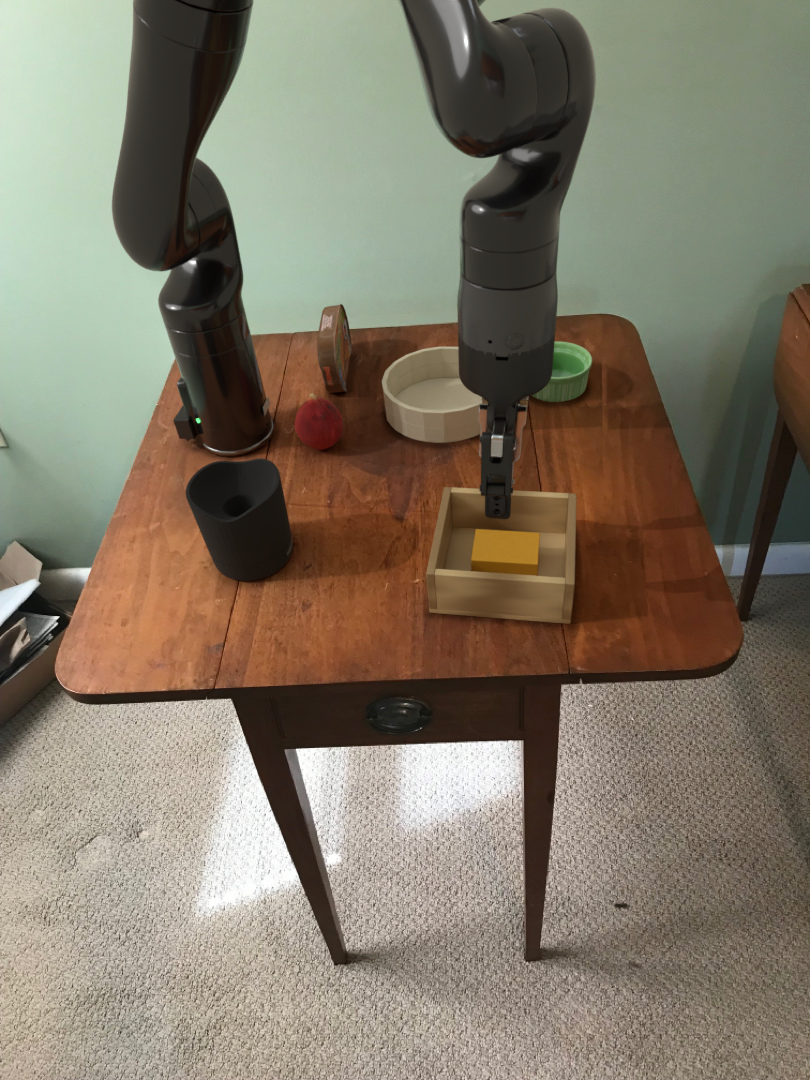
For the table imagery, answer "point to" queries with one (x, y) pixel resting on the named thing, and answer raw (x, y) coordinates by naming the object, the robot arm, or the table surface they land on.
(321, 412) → the onion
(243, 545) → the pen holder
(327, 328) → the tin
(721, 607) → the table surface
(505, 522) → the box
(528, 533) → the yellow rectangular block
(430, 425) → the bowl
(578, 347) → the ramekin
